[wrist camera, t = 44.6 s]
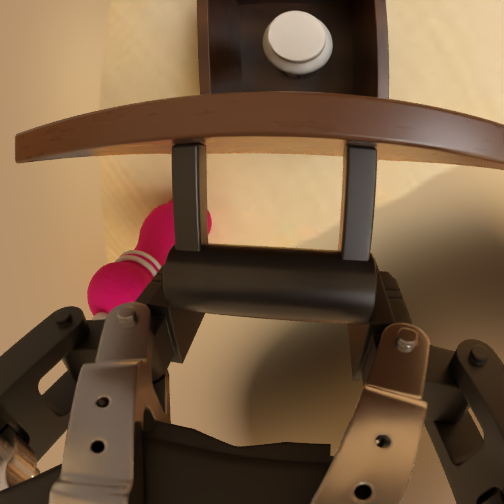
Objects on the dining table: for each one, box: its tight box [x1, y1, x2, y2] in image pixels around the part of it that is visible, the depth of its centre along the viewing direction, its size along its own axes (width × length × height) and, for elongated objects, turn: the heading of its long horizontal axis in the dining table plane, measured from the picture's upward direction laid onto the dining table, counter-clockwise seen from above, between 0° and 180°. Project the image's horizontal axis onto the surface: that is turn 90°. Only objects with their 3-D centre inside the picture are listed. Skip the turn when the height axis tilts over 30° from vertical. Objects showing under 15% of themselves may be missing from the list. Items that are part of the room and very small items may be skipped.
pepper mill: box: [87, 199, 212, 320], centre depth 28 cm, size 7×7×20 cm
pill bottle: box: [263, 11, 333, 79], centre depth 21 cm, size 5×5×10 cm
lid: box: [15, 91, 504, 324], centre depth 13 cm, size 15×13×5 cm
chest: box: [197, 0, 389, 99], centre depth 21 cm, size 15×13×12 cm
